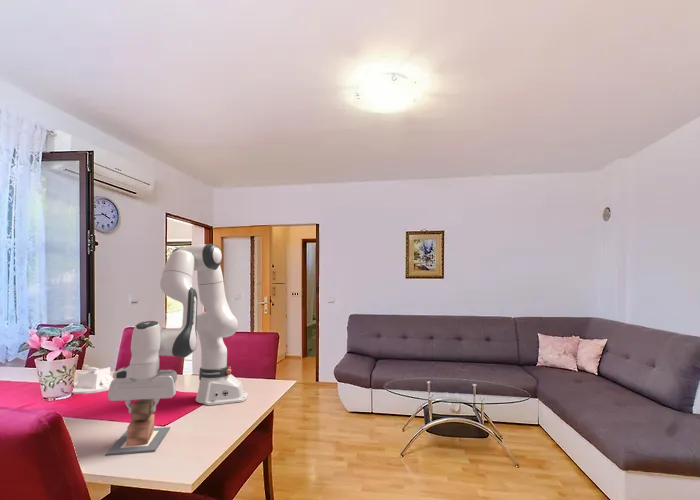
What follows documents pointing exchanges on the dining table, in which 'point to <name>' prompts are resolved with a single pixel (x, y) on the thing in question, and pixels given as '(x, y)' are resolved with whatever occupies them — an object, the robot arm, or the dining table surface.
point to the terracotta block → (140, 431)
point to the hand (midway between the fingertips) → (142, 412)
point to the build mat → (150, 447)
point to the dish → (92, 380)
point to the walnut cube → (141, 410)
